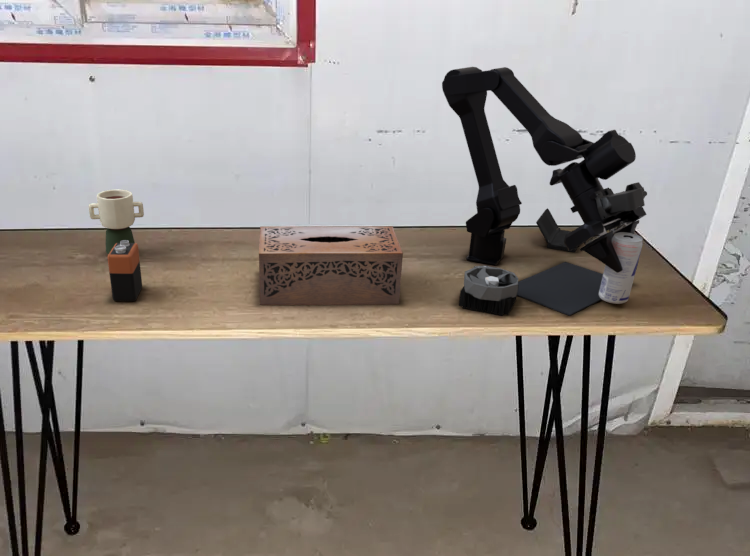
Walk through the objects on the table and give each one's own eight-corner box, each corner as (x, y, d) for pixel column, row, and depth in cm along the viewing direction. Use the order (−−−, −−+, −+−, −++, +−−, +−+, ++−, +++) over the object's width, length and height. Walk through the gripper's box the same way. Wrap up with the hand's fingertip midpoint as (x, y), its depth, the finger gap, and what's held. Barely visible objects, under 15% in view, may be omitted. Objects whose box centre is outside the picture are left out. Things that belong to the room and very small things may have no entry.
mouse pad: (501, 290, 150) (501, 288, 149) (565, 263, 162) (565, 261, 162) (569, 315, 140) (569, 314, 140) (631, 284, 153) (631, 283, 152)
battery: (112, 302, 143) (105, 250, 138) (120, 287, 149) (114, 237, 144) (135, 302, 143) (130, 251, 138) (143, 287, 149) (137, 237, 144)
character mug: (147, 247, 167) (142, 188, 161) (147, 259, 161) (141, 198, 155) (96, 249, 166) (88, 190, 159) (93, 262, 160) (85, 200, 153)
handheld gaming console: (586, 245, 166) (563, 205, 165) (555, 262, 169) (532, 223, 168) (585, 235, 176) (563, 198, 175) (556, 252, 180) (534, 215, 178)
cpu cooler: (513, 290, 136) (457, 280, 139) (508, 320, 139) (453, 309, 142) (524, 270, 144) (471, 261, 147) (520, 298, 147) (467, 289, 150)
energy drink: (629, 295, 146) (645, 235, 139) (626, 306, 141) (642, 244, 135) (599, 290, 147) (614, 230, 141) (596, 300, 143) (610, 239, 137)
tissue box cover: (389, 274, 156) (392, 226, 151) (399, 304, 143) (402, 253, 138) (261, 274, 155) (260, 226, 150) (259, 304, 142) (258, 253, 137)
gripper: (593, 178, 130) (639, 260, 128) (648, 160, 140) (691, 235, 139) (545, 211, 139) (586, 288, 137) (600, 192, 149) (639, 263, 148)
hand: (628, 267), depth 140 cm, fingers closed on energy drink, 5 cm apart
